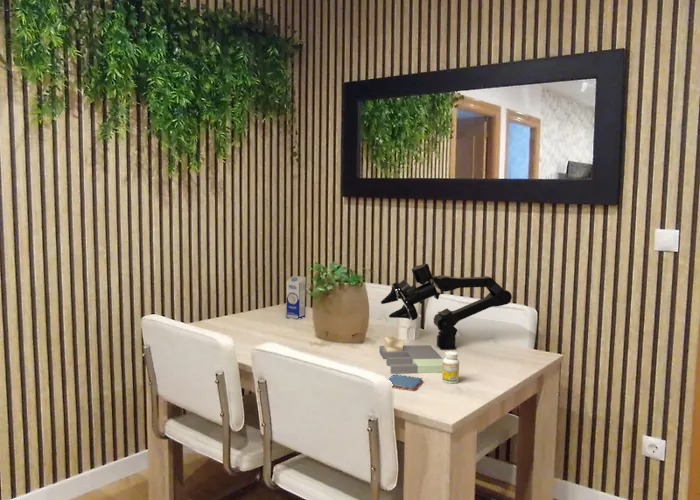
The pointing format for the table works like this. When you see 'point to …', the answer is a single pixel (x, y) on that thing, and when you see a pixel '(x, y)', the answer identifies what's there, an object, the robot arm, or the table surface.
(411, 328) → the cup
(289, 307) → the milk carton
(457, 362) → the supplement bottle
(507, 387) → the table surface
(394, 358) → the board
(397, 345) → the maple block
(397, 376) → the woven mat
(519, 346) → the table surface
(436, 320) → the robot arm
